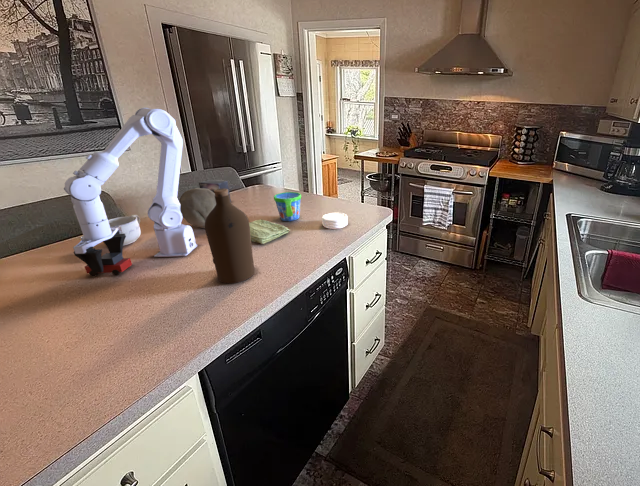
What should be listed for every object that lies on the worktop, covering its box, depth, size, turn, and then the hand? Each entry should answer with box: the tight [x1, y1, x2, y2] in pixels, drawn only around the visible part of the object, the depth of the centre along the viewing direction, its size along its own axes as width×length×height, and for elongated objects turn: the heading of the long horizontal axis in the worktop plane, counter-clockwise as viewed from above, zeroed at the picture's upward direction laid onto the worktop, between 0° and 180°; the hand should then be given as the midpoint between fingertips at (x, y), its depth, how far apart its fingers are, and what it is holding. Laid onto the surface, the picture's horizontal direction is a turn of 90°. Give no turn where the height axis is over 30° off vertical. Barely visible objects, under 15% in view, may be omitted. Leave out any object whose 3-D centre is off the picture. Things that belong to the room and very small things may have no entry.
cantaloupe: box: [178, 187, 216, 229], centre depth 123 cm, size 14×14×15 cm
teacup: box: [108, 214, 142, 247], centre depth 111 cm, size 14×11×8 cm
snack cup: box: [273, 191, 302, 222], centre depth 133 cm, size 16×10×10 cm
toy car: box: [84, 252, 133, 277], centre depth 92 cm, size 9×5×5 cm, turn 97°
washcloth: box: [249, 219, 290, 245], centre depth 118 cm, size 13×18×3 cm
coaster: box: [321, 212, 349, 230], centre depth 129 cm, size 10×10×4 cm
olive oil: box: [204, 188, 255, 284], centre depth 88 cm, size 11×11×25 cm
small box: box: [198, 178, 232, 203], centre depth 151 cm, size 11×6×10 cm, turn 80°
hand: (108, 265), depth 92 cm, fingers open, 7 cm apart
